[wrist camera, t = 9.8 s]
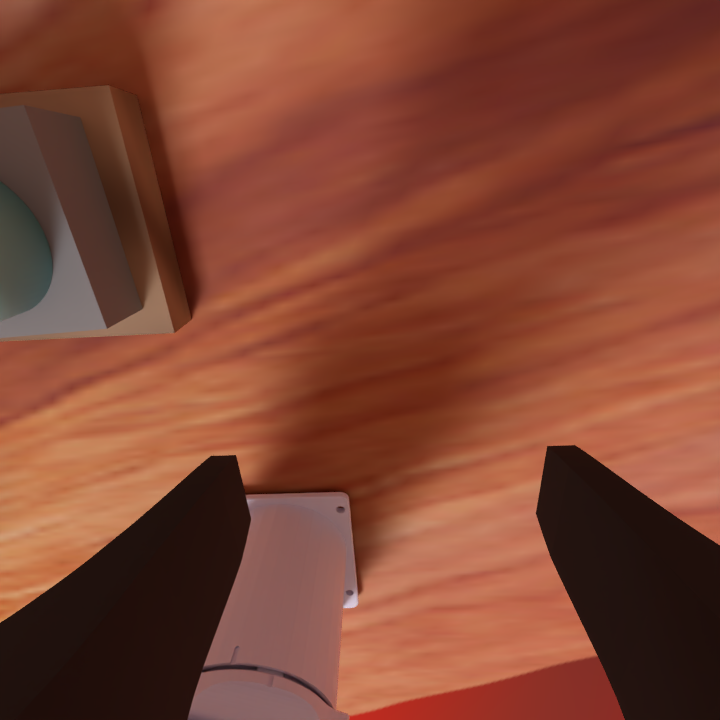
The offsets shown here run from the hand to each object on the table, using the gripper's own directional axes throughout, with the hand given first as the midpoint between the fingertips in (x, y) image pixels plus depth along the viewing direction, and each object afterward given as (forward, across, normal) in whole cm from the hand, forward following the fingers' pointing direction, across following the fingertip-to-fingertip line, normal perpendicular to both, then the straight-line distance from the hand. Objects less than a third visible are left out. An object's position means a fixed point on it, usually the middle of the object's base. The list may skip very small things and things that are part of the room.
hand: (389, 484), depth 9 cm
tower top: (+9, +14, -5) cm, 17 cm away
